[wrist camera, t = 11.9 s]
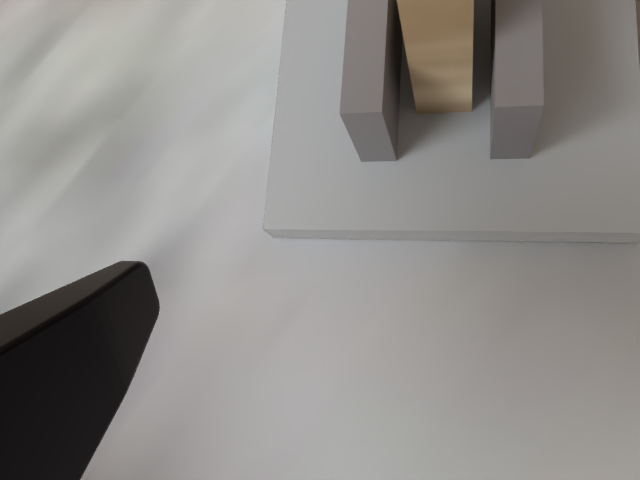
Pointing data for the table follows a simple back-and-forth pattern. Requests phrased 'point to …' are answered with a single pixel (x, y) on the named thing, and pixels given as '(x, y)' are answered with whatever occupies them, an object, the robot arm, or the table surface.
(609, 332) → the table surface
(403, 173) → the slate stand
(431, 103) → the tan wooden block
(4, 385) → the robot arm
